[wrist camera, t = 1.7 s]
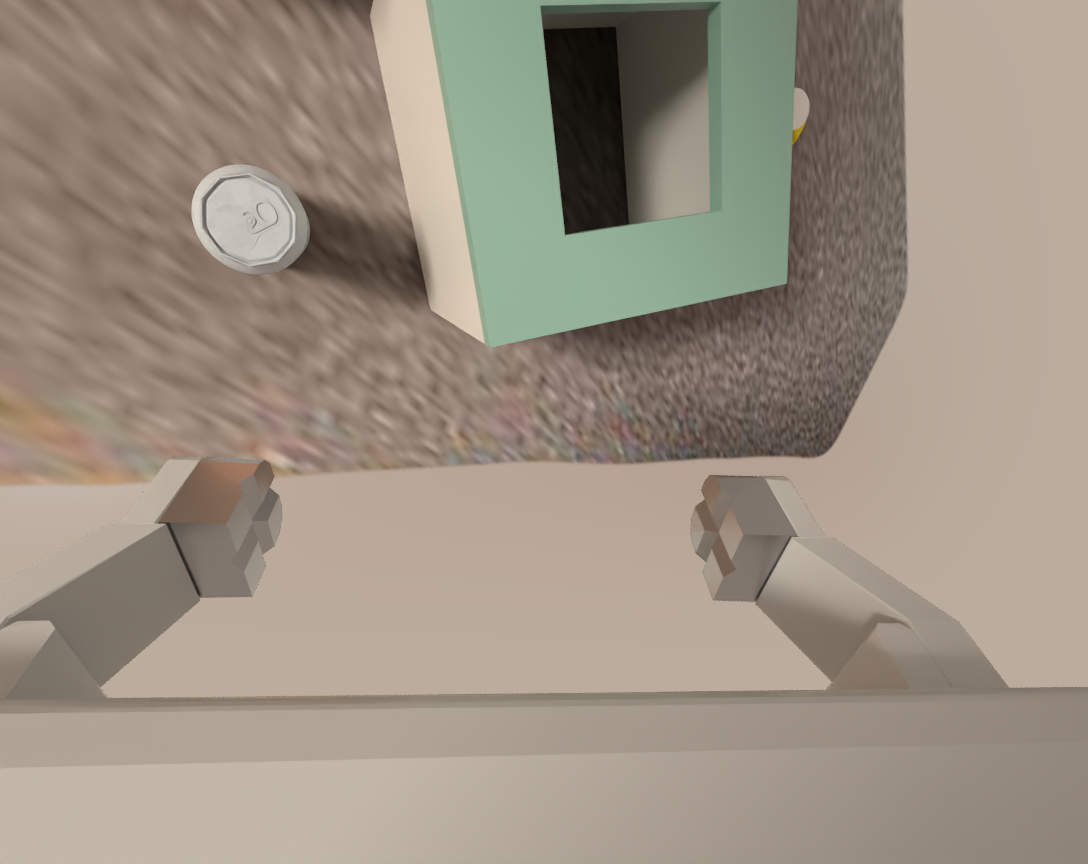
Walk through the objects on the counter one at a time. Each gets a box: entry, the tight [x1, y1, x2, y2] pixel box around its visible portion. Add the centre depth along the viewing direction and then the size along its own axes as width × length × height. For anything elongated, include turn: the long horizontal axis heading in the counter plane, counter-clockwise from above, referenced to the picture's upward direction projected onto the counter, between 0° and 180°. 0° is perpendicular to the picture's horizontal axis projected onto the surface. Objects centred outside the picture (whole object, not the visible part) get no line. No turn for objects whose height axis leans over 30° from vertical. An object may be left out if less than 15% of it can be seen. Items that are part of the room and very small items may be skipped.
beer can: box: [192, 164, 310, 275], centre depth 30 cm, size 5×5×12 cm
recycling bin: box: [370, 0, 798, 347], centre depth 33 cm, size 18×18×16 cm
